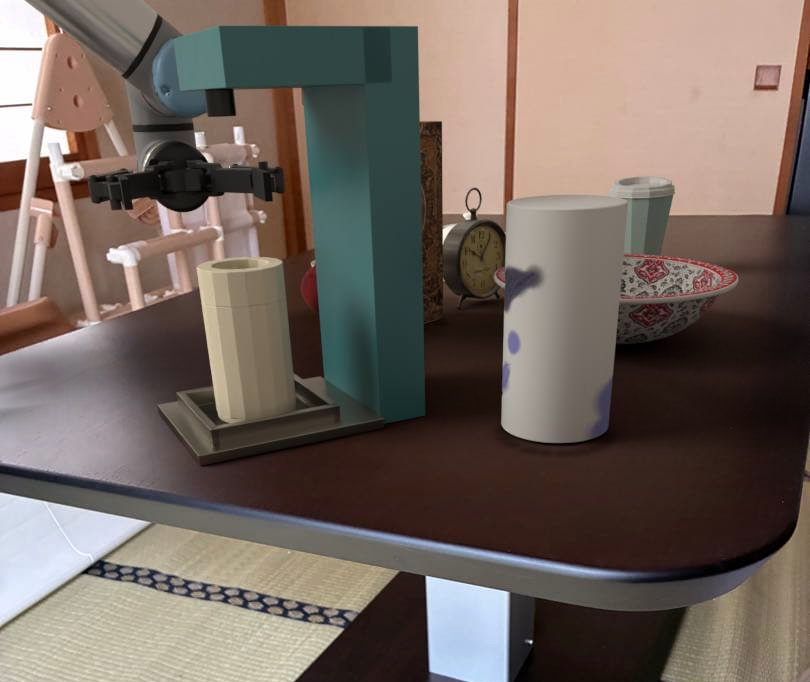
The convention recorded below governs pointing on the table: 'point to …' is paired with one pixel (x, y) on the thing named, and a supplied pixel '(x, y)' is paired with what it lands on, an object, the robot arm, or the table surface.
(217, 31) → the coffee station
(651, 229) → the disposable coffee cup
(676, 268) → the ceramic bowl
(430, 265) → the book
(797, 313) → the table surface
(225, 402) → the cream faceted cup
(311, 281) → the onion
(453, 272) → the alarm clock
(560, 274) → the container
